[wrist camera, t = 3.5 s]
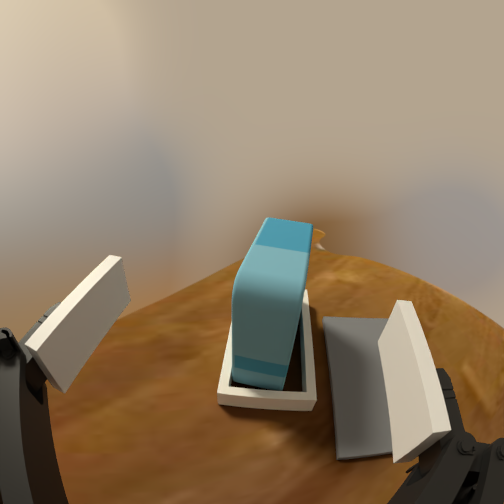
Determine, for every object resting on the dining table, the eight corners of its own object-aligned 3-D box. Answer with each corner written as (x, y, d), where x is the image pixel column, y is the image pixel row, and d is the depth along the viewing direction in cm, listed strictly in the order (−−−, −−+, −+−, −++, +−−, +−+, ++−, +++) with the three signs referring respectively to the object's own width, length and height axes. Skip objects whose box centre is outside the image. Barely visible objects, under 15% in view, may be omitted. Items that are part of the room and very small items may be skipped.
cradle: (304, 302, 34) (307, 289, 33) (311, 410, 21) (316, 400, 20) (238, 297, 35) (239, 284, 34) (218, 404, 22) (217, 392, 21)
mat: (410, 322, 31) (412, 318, 31) (452, 438, 16) (455, 436, 16) (322, 320, 32) (323, 316, 31) (336, 459, 17) (338, 457, 17)
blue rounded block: (280, 398, 23) (304, 295, 16) (231, 387, 23) (230, 282, 17) (297, 313, 33) (314, 218, 27) (260, 306, 33) (268, 211, 27)
